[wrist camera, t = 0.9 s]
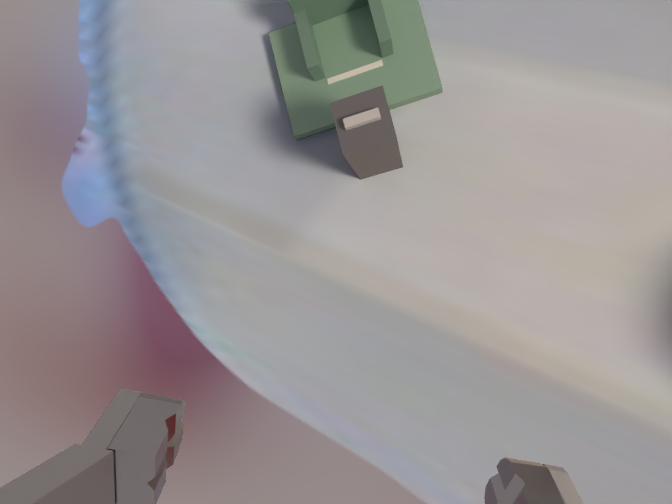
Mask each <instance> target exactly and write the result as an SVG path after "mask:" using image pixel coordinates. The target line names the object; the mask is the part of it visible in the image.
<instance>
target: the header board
mask: <svg viewBox="0 0 672 504" xmlns="http://www.w3.org/2000/svg"><path fill="white" fill-rule="evenodd" d="M287 2H288V3H289V5H290V7H291V9H292V11H293V13H294V17H295V21H296V23H294V24H291V25H288V26H286V27H283V28H280V29H278V30H275V31H273V32H270V33H269V37H270V41H271V45H272V50H273V54H274V58H275V62H276V66H277V70H278V74H279V78H280V82H281V86H282V91H283V95H284V99H285V103H286V107H287V111H288V115H289V119H290V123H291V128H292V132H293V136H294V137H295V138H296V139H300V138H303V137H307V136H310V135H313V134H316V133H319V132H322V131H325V130H328V129H331V128H334V127H335V123H334V119H333V115H332V111H331V107H330V103H331V102H334V101H337V100H340V99H343V98H346V97H349V96H352V95H355V94H358V93H361V92H364V91H367V90H370V89H373V88H376V87H379V86H382V85H383V88H384V92H385V96H386V100H387V103H388V107H389V110H390V109H393V108H396V107H399V106H402V105H405V104H408V103H411V102H414V101H418V100H421V99H424V98H427V97H430V96H433V95H436V94H439V93H442V85H441V81H440V78H439V74H438V71H437V67H436V63H435V60H434V56H433V53H432V49H431V45H430V42H429V38H428V35H427V31H426V27H425V24H424V20H423V17H422V13H421V9H420V6H419V2H418V0H287Z"/></svg>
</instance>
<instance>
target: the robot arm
mask: <svg viewBox="0 0 672 504" xmlns="http://www.w3.org/2000/svg"><path fill="white" fill-rule="evenodd" d="M184 412H185V401H182V400H178V399H173V398H168V397H163V396H158V395H153V394H149V393H143V392H137V391H132V390H127V389H122V390H121V391H119V392H118V393H117V394H116V395H115V397H114V398H113V400H112V401H111V403H110V404H109V406H108V407H107V409H106V410H105V412H104V413H103V414H102V416H101V417H100V419H99V420H98V422H97V423H96V425H95V426H94V428H93V429H92V431H91V432H90V433H89V435H88V437H87V438H86V439H85V441H84V442H83V444H82V445H77V444H74V445H73V446H71V447H69V448H68V449H66V450H64V451H63V452H61V453H59V454H57V455H56V456H54V457H52V458H50V459H49V460H47V461H45V462H44V463H42V464H40V465H38V466H37V467H35V468H33V469H32V470H30V471H28V472H26V473H25V474H23V475H21V476H20V477H18V478H16V479H14V480H13V481H11V482H9V483H8V484H6V485H4V486H2V487H1V488H0V504H156V503H157V501H158V498H159V496H160V494H161V491H162V489H163V487H164V484H165V482H166V469H168V468H169V467H170V466H172V465H173V463H174V461H175V458H176V456H177V454H178V451H179V447H180V444H181V441H182V436H183V430H184V424H183V422H182V421H181V419H182V417H183V414H184ZM497 469H498V472H499V474H497V475H495V476H493V477H491V478H490V479H489V481H488V483H487V485H486V489H485V504H583V502H582V500H581V498H580V496H579V494H578V492H577V490H576V488H575V486H574V485H573V483H572V481H571V479H570V477H569V475H568V473H567V472H566V471H565V470H564V469H563V468H562V467H557V466H551V465H545V464H540V463H535V462H529V461H523V460H517V459H511V458H503V459H502V460H500V462H499V464H498V465H497Z"/></svg>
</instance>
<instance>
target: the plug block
mask: <svg viewBox="0 0 672 504" xmlns="http://www.w3.org/2000/svg"><path fill="white" fill-rule="evenodd" d="M330 107H331V111H332V115H333V119H334V123H335V127H336V131H337V135H338V139H339V142H340V146H341V150H342V154H343V156H344V157H345V159H346V160H347V162H348V163H349V164H350V166H351V167H352V168H353V170H354V171H355V173H356V174H357V175H358V177H359V178H360V179H364V178H367V177H371V176H374V175H378V174H381V173H384V172H388V171H391V170H394V169H398V168H401V167H403V165H402V160H401V156H400V151H399V146H398V142H397V137H396V134H395V130H394V126H393V122H392V119H391V115H390V111H389V107H388V103H387V100H386V96H385V92H384V88H383V85H382V86H379V87H376V88H373V89H370V90H367V91H364V92H361V93H358V94H355V95H352V96H349V97H346V98H343V99H340V100H337V101H334V102H331V103H330Z"/></svg>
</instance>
